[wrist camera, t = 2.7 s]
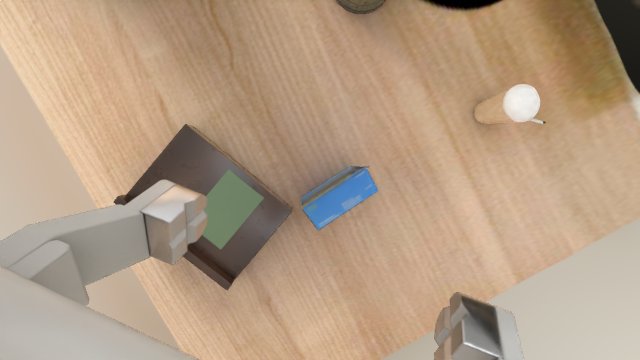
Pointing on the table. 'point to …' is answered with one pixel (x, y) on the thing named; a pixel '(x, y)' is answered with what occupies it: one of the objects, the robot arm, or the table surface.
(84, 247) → the robot arm
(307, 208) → the blue cardboard box
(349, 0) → the thermos
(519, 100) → the milkshake
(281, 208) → the desk shelf
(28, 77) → the table surface
